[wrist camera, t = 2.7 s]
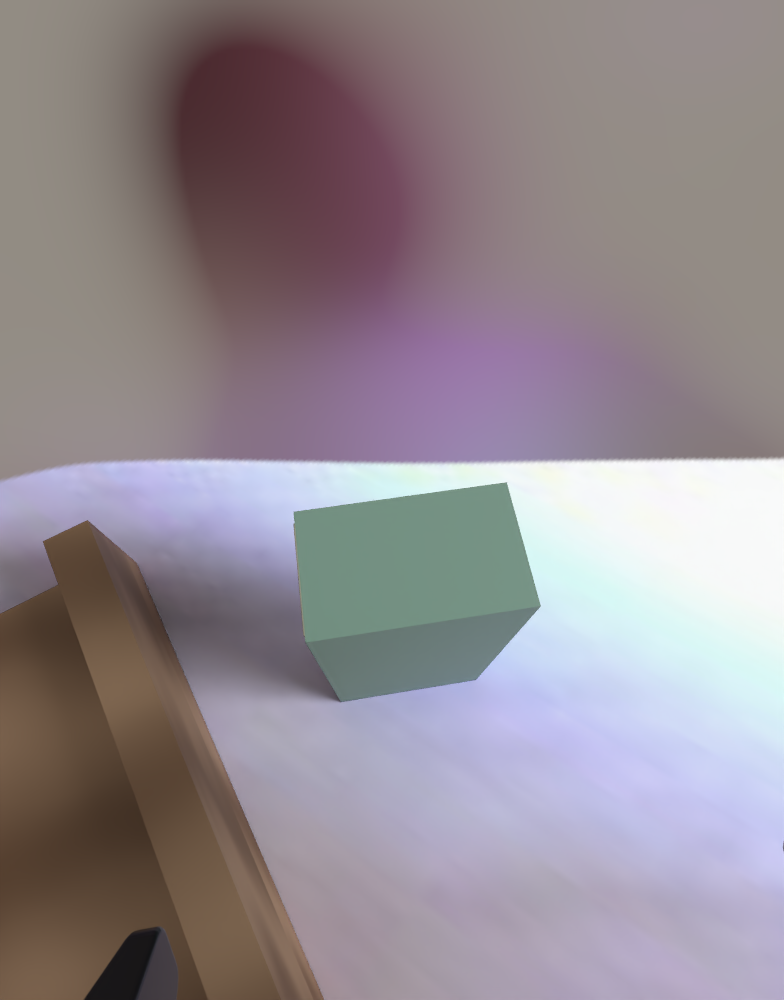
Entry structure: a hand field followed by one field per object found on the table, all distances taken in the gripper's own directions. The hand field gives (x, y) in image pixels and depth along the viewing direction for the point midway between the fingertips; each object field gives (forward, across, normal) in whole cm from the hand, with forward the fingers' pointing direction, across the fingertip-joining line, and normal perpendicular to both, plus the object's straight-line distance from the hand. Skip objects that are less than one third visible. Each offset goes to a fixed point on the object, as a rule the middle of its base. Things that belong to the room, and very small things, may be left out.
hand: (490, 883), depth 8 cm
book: (+13, 0, +5) cm, 14 cm away
